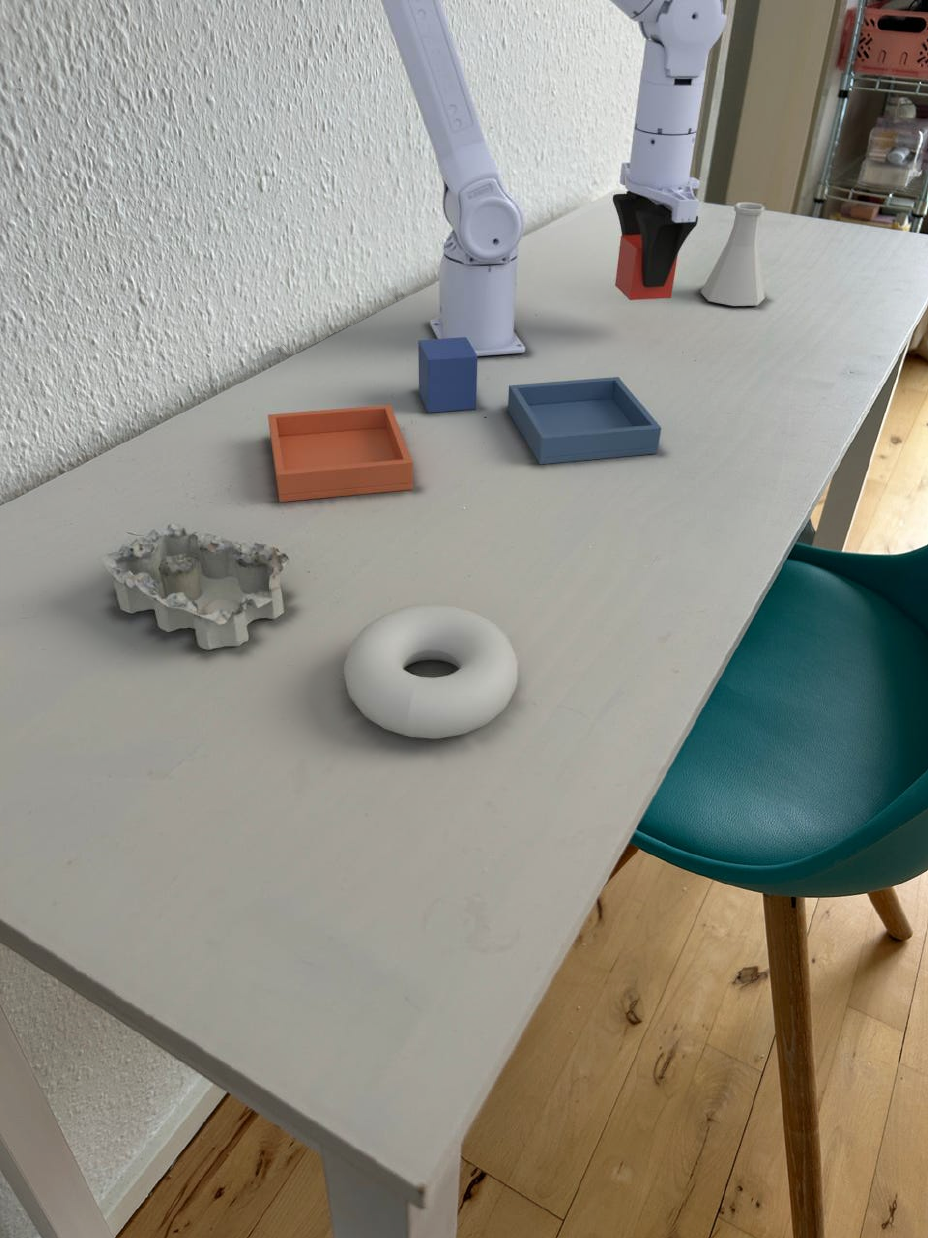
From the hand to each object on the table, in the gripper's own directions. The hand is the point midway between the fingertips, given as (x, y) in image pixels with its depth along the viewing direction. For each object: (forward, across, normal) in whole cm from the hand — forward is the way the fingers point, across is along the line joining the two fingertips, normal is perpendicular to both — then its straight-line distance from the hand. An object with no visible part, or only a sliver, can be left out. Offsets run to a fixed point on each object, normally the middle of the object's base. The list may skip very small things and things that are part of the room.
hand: (644, 277), depth 96 cm
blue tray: (+6, -20, +13) cm, 25 cm away
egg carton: (+6, -39, +45) cm, 60 cm away
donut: (+6, -50, +32) cm, 60 cm away
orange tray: (+6, -22, +34) cm, 41 cm away
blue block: (+6, -12, +23) cm, 27 cm away
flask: (+6, +9, -15) cm, 19 cm away
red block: (+1, 0, 0) cm, 1 cm away
